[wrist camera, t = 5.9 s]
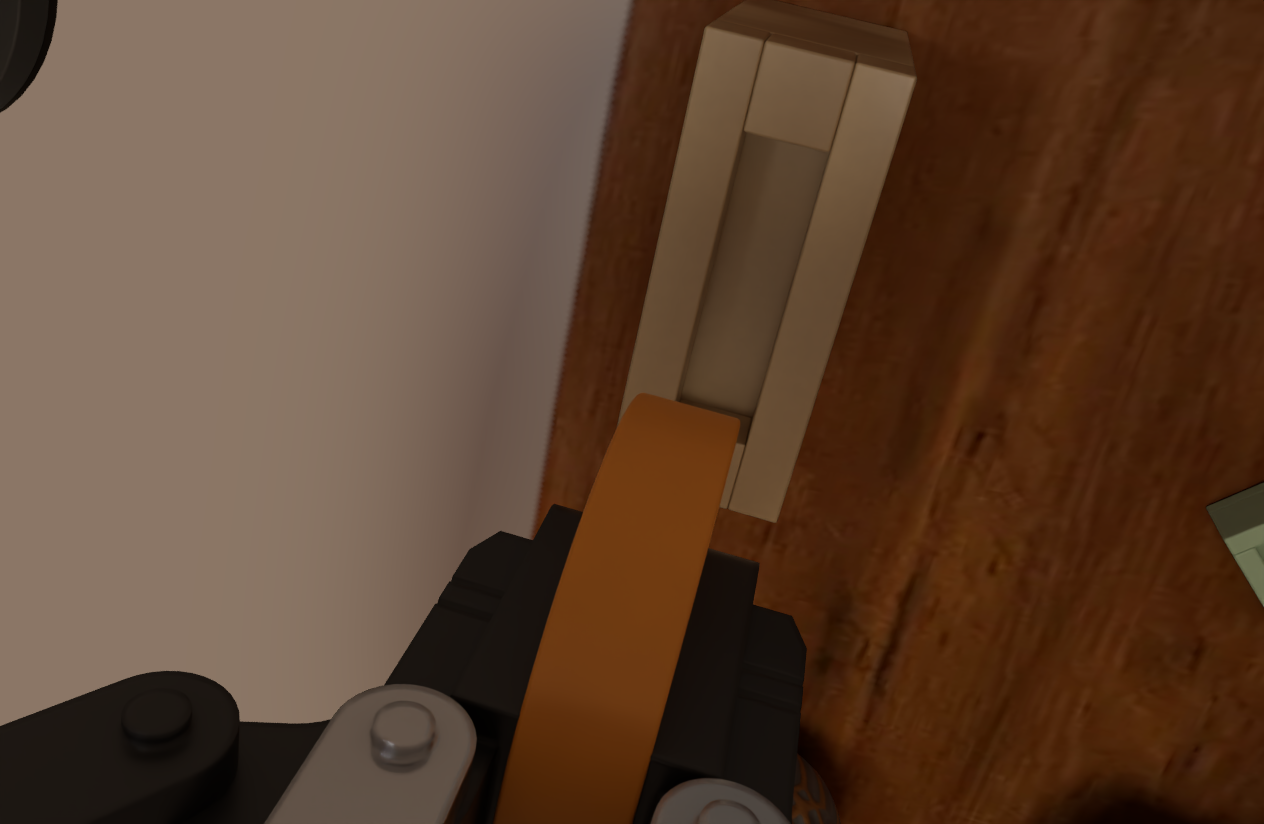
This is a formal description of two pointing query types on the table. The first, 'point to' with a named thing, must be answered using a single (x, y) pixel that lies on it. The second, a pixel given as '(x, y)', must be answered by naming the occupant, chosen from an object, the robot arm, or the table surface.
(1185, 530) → the table surface
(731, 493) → the holder
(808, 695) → the table surface
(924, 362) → the table surface
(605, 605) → the token
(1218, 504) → the tray
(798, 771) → the vase
